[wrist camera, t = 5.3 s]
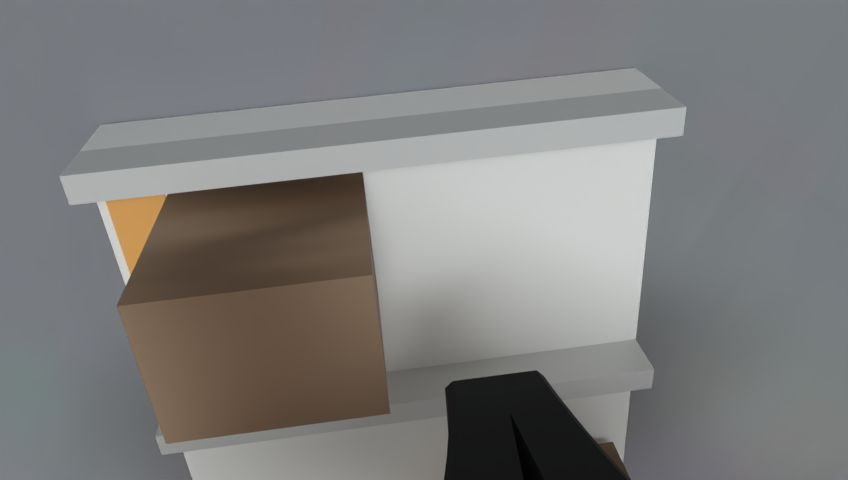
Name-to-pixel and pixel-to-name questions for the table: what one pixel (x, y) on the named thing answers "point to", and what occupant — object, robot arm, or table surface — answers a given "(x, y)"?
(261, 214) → the brown cardboard box
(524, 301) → the white flat ridged tray
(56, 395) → the table surface
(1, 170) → the table surface
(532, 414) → the robot arm
